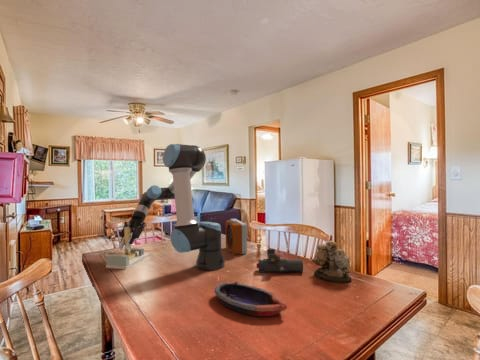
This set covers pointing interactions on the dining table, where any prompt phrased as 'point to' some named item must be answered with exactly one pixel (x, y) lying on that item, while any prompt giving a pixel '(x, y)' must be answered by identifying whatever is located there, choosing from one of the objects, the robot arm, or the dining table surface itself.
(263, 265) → the laser sight
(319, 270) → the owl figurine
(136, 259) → the jamb board
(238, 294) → the dish
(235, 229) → the alarm clock
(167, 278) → the dining table surface
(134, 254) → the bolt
